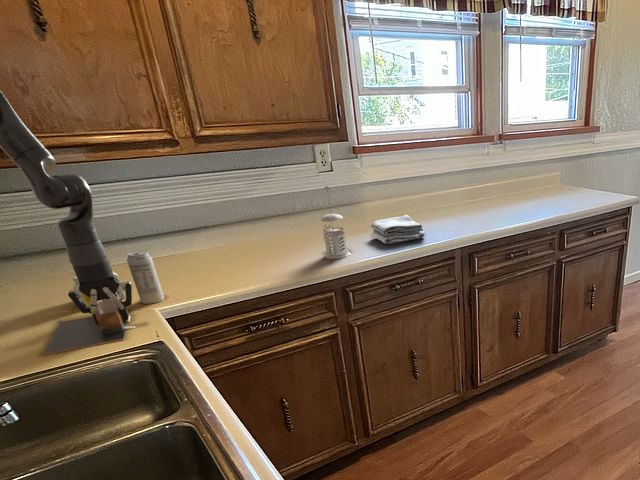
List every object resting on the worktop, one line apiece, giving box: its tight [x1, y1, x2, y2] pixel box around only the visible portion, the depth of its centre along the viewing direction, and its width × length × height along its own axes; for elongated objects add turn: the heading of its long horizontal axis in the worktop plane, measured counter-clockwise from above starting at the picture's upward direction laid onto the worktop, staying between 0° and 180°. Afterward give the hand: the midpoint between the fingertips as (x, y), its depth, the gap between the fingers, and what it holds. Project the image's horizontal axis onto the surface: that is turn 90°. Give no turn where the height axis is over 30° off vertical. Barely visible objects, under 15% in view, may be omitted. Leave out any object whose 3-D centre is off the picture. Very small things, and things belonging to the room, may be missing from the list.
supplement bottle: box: [72, 275, 102, 307], centre depth 149 cm, size 5×5×10 cm
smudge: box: [124, 325, 137, 331], centre depth 135 cm, size 4×1×1 cm, turn 120°
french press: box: [320, 185, 351, 260], centre depth 188 cm, size 10×12×25 cm
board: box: [43, 309, 129, 357], centre depth 134 cm, size 16×24×1 cm, turn 29°
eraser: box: [95, 300, 125, 335], centre depth 134 cm, size 4×11×6 cm, turn 29°
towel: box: [370, 214, 425, 245], centre depth 213 cm, size 15×18×8 cm
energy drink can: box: [126, 250, 165, 305], centre depth 150 cm, size 6×6×15 cm
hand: (114, 323), depth 135 cm, fingers closed on eraser, 4 cm apart
